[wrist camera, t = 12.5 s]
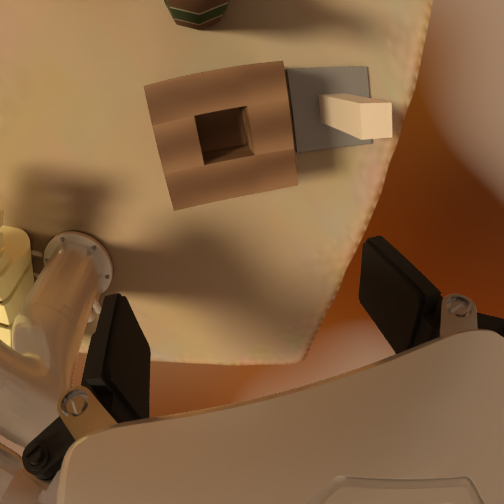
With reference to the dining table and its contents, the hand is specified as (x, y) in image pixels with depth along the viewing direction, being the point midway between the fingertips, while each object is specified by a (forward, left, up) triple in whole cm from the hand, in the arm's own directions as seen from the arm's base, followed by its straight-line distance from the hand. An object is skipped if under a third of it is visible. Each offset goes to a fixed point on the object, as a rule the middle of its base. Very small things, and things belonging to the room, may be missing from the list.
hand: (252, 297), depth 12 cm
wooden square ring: (+2, -1, -33) cm, 33 cm away
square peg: (+2, -17, -33) cm, 37 cm away
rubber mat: (+2, -17, -33) cm, 37 cm away
